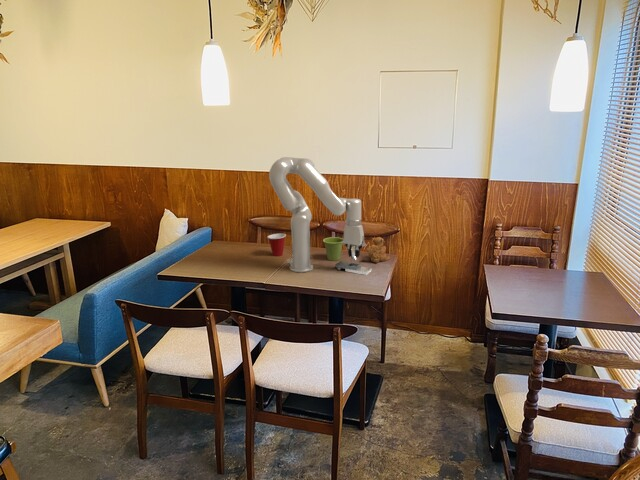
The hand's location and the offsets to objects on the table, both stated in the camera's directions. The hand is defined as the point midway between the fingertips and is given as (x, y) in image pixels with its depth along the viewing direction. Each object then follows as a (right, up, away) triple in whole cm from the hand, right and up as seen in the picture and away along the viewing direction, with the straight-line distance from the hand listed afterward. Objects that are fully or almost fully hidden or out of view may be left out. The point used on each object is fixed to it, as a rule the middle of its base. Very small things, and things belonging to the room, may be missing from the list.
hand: (354, 256), depth 255 cm
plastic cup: (-43, 0, +29) cm, 52 cm away
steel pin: (0, -2, 0) cm, 2 cm away
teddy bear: (+14, -3, +18) cm, 23 cm away
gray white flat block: (0, -8, +2) cm, 8 cm away
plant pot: (-10, -3, +21) cm, 24 cm away
